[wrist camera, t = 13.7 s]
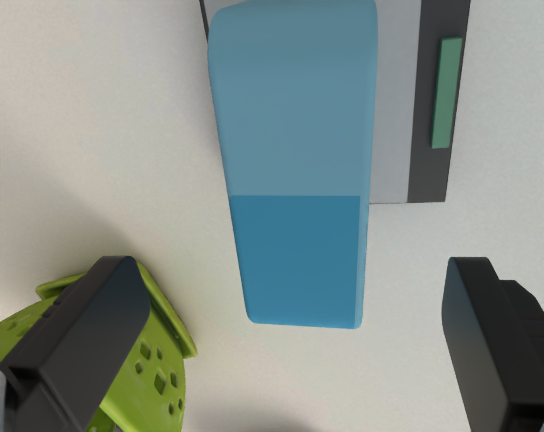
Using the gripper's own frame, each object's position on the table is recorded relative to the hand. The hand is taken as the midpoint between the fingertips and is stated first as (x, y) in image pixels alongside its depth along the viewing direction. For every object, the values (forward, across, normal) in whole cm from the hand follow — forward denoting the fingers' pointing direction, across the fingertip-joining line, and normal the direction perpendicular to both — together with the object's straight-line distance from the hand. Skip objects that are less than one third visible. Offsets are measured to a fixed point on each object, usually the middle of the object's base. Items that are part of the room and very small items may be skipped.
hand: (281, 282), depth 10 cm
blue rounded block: (+15, 0, 0) cm, 15 cm away
